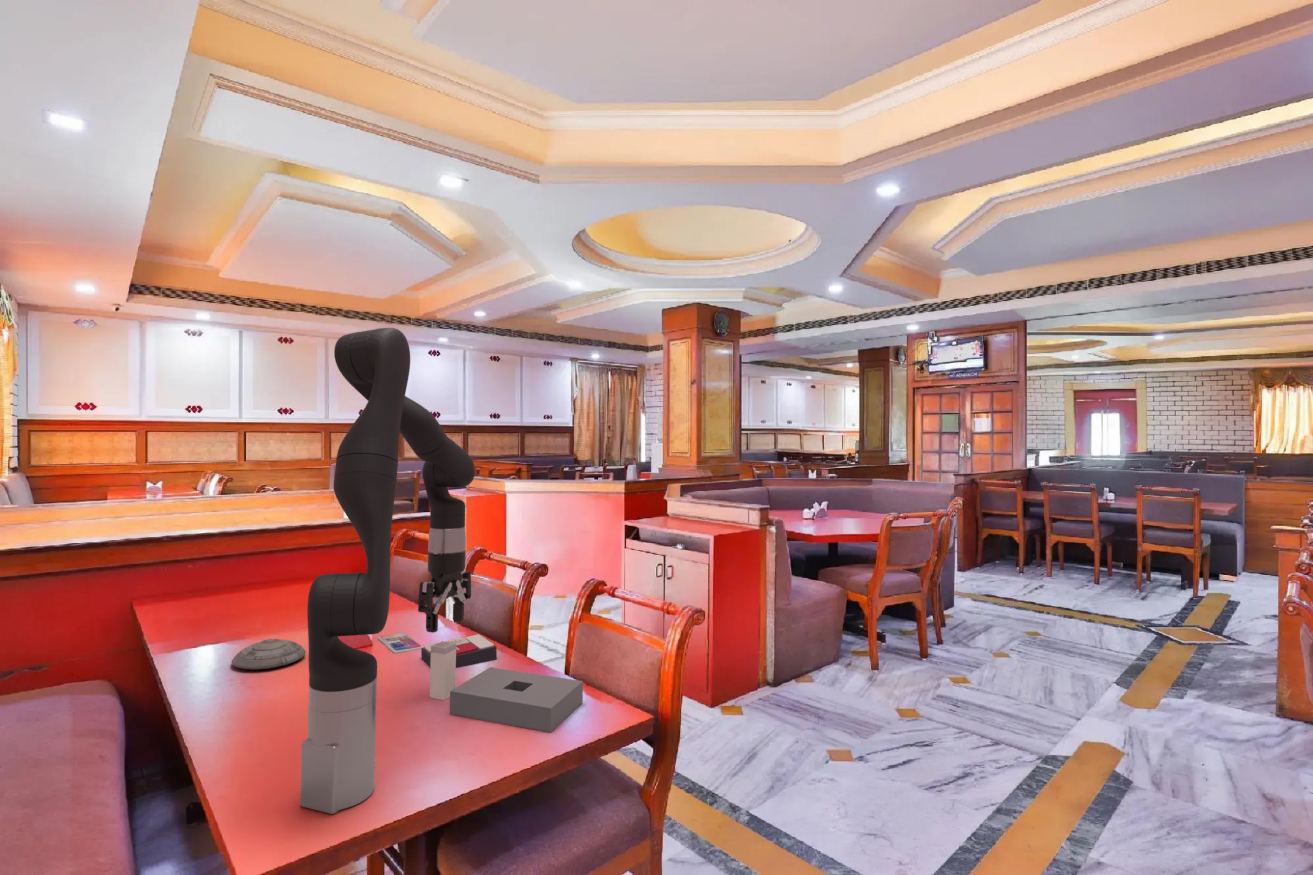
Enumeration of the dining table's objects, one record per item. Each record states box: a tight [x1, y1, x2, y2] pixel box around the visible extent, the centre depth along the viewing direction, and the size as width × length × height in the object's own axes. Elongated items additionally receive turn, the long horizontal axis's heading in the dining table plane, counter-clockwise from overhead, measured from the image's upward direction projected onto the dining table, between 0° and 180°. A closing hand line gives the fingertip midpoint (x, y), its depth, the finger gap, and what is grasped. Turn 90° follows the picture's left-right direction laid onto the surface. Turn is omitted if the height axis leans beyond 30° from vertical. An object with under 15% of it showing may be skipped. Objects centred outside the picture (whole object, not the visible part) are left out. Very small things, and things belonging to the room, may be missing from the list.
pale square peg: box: [429, 640, 457, 701], centre depth 132 cm, size 4×4×11 cm
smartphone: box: [378, 632, 424, 655], centre depth 164 cm, size 7×1×15 cm
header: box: [449, 666, 584, 733], centre depth 126 cm, size 14×22×4 cm, turn 72°
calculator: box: [420, 633, 498, 669], centre depth 154 cm, size 11×4×15 cm
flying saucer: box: [231, 638, 307, 670], centre depth 149 cm, size 15×15×6 cm
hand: (445, 626), depth 132 cm, fingers open, 8 cm apart
